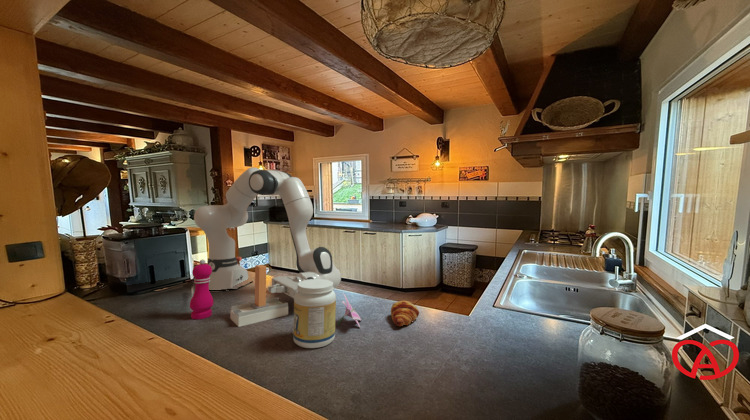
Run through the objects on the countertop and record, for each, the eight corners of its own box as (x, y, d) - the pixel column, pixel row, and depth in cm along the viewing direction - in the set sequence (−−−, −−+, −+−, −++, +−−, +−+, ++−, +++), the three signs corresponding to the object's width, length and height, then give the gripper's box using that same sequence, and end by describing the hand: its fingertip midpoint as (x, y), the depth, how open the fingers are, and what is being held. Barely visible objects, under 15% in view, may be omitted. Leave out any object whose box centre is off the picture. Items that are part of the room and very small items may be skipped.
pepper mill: (194, 321, 97) (195, 262, 97) (185, 316, 101) (186, 259, 101) (217, 315, 103) (217, 259, 102) (207, 311, 107) (208, 257, 107)
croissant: (401, 316, 115) (392, 298, 116) (423, 307, 113) (414, 288, 114) (390, 338, 94) (380, 315, 95) (418, 327, 92) (407, 304, 93)
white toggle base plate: (277, 307, 112) (277, 297, 112) (288, 314, 105) (288, 303, 105) (230, 318, 100) (230, 306, 100) (238, 326, 94) (238, 314, 94)
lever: (262, 303, 106) (263, 264, 106) (269, 308, 102) (269, 266, 102) (251, 306, 104) (252, 265, 103) (257, 310, 99) (258, 268, 99)
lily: (348, 339, 89) (364, 311, 90) (320, 318, 94) (335, 291, 95) (361, 336, 100) (375, 310, 101) (335, 316, 105) (348, 293, 106)
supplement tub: (290, 334, 89) (291, 279, 89) (329, 328, 94) (330, 276, 94) (296, 353, 78) (297, 290, 78) (339, 345, 83) (341, 286, 82)
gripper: (292, 271, 122) (259, 275, 113) (317, 281, 107) (281, 287, 98) (291, 285, 122) (258, 291, 113) (317, 298, 107) (281, 306, 98)
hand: (269, 289), depth 105 cm, fingers closed
